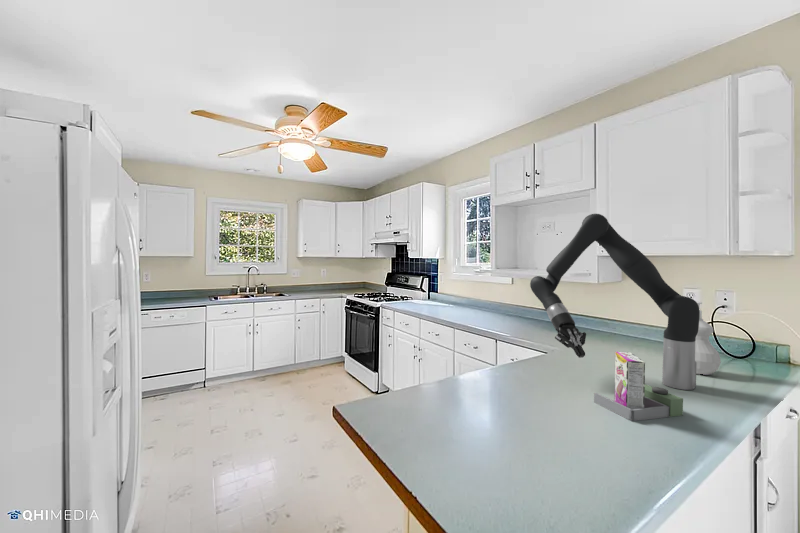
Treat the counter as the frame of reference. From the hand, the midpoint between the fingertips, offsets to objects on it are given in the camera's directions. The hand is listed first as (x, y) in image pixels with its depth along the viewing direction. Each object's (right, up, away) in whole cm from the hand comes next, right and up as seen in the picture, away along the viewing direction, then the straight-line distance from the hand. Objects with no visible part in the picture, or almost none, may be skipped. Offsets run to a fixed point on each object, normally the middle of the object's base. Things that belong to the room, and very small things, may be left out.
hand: (582, 356), depth 128 cm
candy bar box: (+4, -12, -19) cm, 23 cm away
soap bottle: (+57, -12, +20) cm, 61 cm away
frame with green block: (+7, -11, -19) cm, 23 cm away
